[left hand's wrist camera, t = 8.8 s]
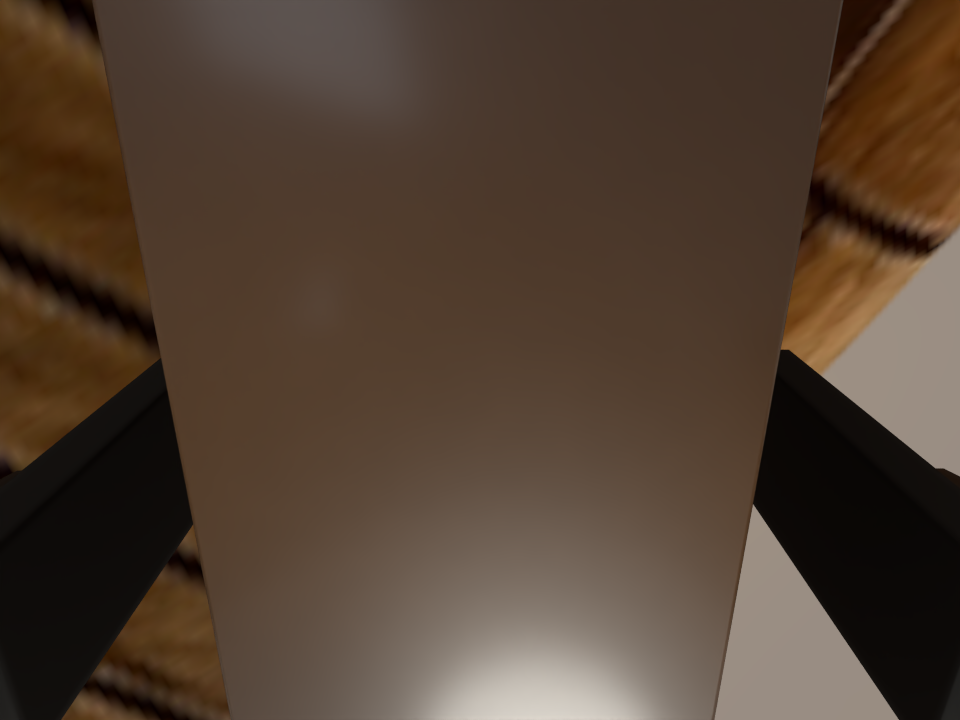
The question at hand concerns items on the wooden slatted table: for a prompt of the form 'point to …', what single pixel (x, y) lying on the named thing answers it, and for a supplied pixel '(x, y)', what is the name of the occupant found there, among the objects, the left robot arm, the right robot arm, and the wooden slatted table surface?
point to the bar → (469, 333)
